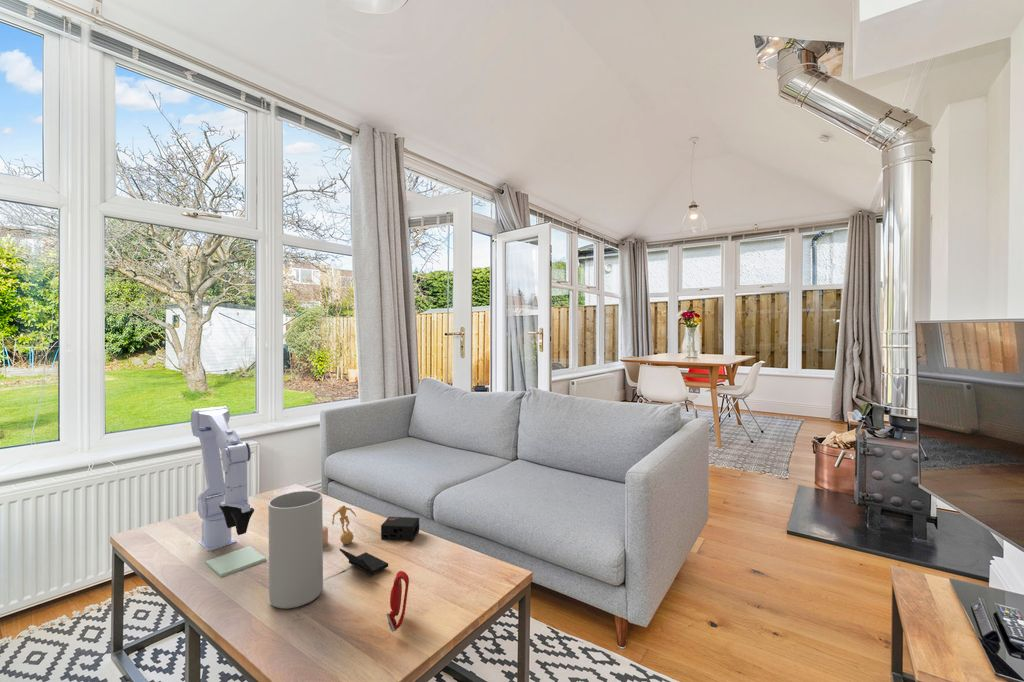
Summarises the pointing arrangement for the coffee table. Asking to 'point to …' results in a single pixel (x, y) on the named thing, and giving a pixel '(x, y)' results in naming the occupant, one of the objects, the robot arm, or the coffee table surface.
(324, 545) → the pink rounded capsule
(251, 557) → the sage board
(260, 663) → the coffee table surface
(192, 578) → the coffee table surface
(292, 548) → the cylinder vase
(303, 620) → the coffee table surface
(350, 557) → the black angular piece
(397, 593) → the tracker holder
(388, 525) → the electronic device
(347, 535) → the figurine
